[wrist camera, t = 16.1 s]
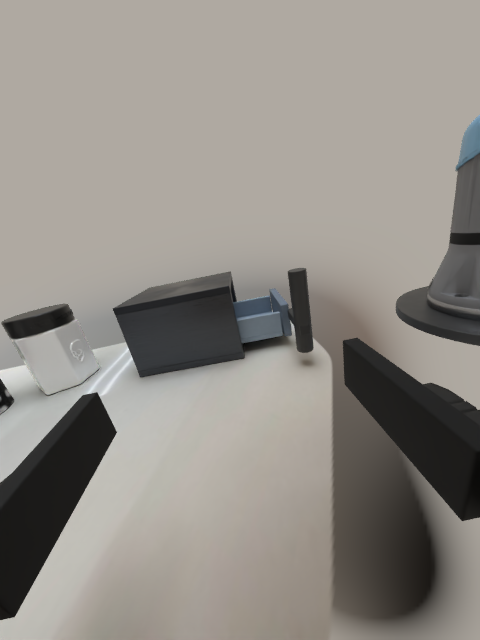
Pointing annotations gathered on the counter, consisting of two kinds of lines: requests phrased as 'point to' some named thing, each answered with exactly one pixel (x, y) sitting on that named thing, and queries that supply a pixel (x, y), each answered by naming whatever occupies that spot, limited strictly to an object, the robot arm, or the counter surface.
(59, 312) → the jar
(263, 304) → the blue-grey drawer tray
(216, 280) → the drawer box
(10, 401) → the spotted tube
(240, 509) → the counter surface
